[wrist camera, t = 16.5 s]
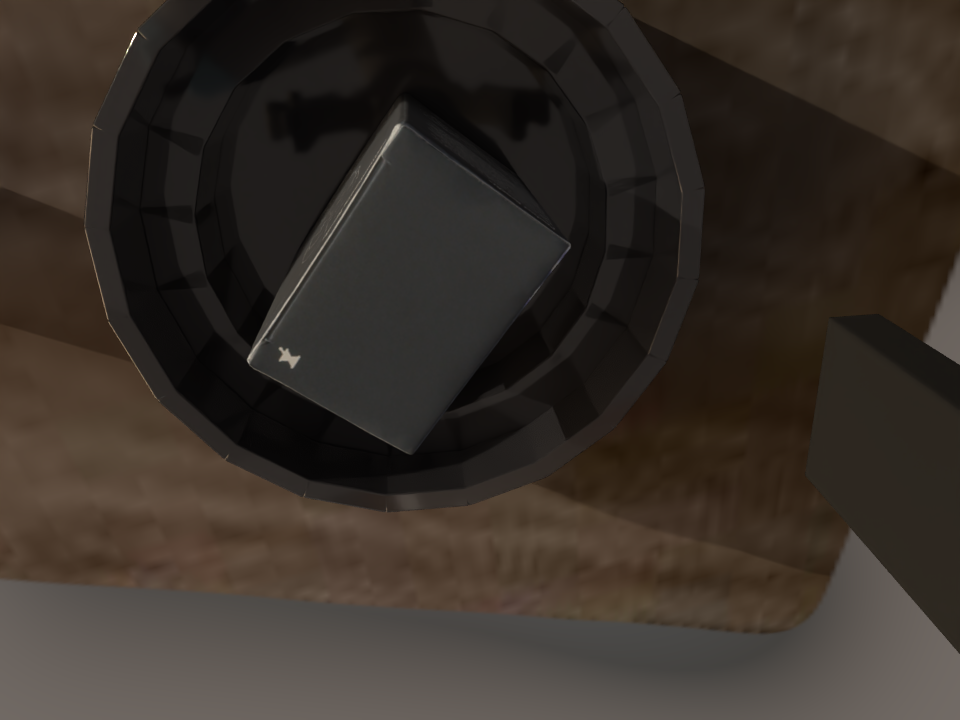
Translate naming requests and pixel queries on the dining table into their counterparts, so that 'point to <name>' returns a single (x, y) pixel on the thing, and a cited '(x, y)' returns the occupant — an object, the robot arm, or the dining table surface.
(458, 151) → the box
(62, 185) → the dining table surface
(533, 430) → the bowl
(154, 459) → the dining table surface
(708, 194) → the dining table surface
